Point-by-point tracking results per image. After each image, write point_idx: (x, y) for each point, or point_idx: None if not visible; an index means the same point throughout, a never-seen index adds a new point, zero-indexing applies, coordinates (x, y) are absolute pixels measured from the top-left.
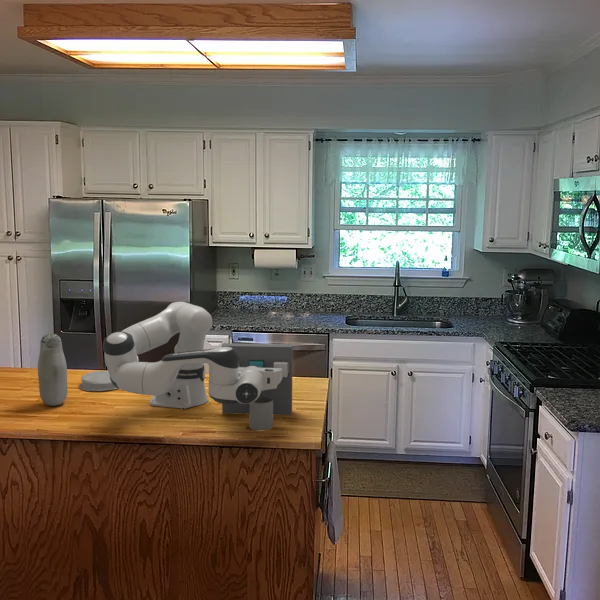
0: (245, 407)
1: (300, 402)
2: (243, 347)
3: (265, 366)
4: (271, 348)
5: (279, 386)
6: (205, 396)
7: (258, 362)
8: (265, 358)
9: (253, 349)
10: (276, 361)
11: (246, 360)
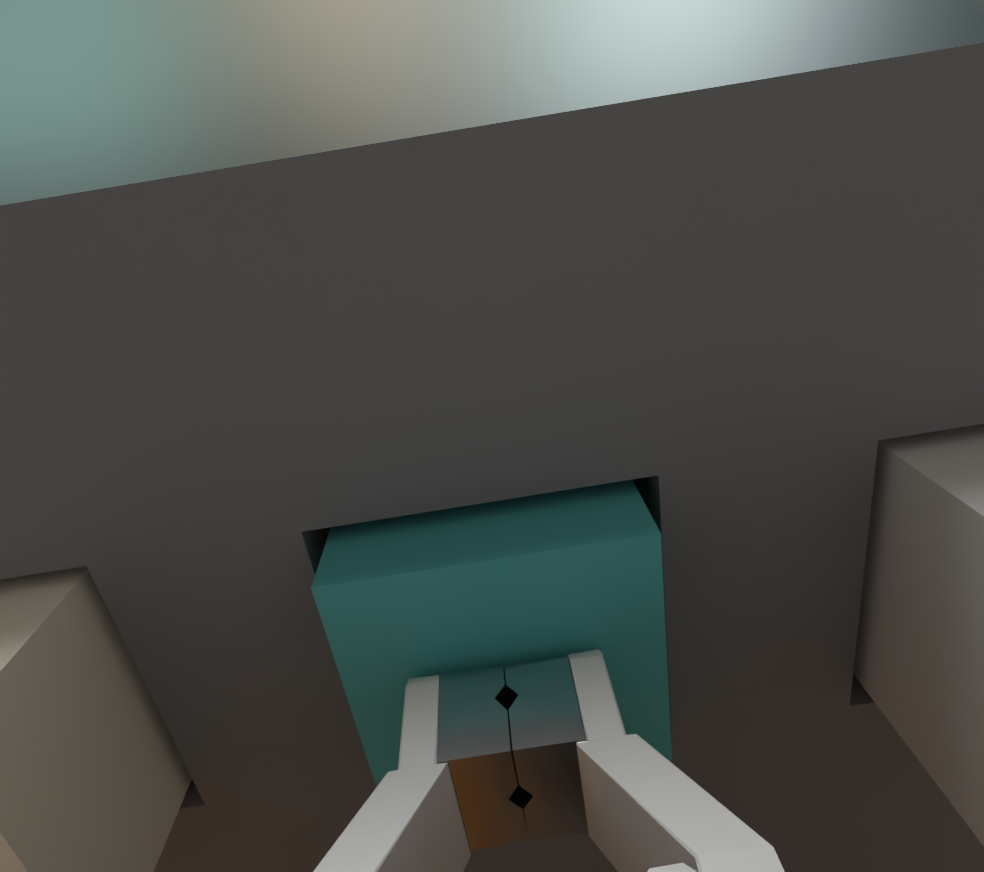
0: None
1: None
2: (35, 242)
3: (691, 592)
4: (851, 124)
5: (938, 835)
6: None
7: (540, 566)
8: (686, 429)
9: (339, 250)
10: (953, 450)
11: (241, 553)
